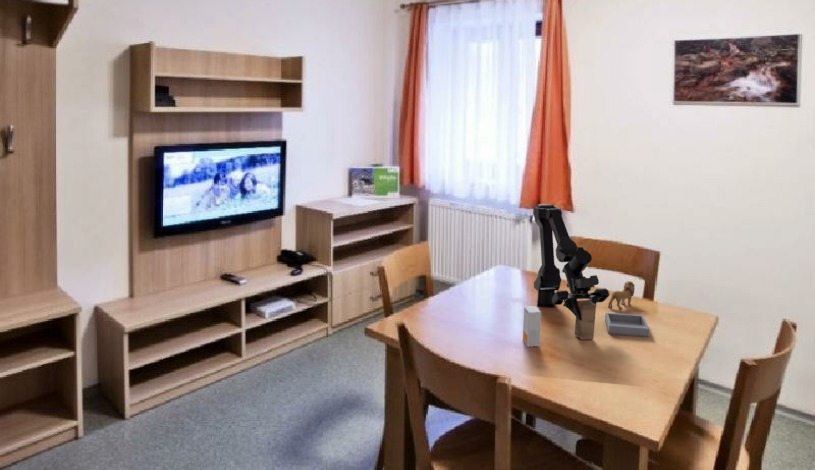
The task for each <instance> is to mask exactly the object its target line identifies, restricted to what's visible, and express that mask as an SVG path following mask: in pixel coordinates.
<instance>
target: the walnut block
mask: <svg viewBox="0 0 815 470" xmlns="http://www.w3.org/2000/svg"><path fill="white" fill-rule="evenodd" d="M577 305H578V308H579V311H580V314H581V320H579V319H578V318H577V317H576V316H575V324H574V325H575V326H574V335H575V336H576V337H577V338H578V339H580V340H593V339H594V336H595V335H594V333H595V322H596V312H597V311H596V310H597V304H596V305H595V304H594V303H593V302H591V301H590V300H588V299H580V300H577Z"/></svg>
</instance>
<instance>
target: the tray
mask: <svg viewBox="0 0 815 470" xmlns="http://www.w3.org/2000/svg"><path fill="white" fill-rule="evenodd" d="M604 315H605V316H604V323H605V326H606V330H607V333H608V335H619V336H632V337H645V338H650V337H649V333H650V327H649V325H648V322H647V321H646V319H645V317H644V315H643V314H641V315H640V314H629V313H613V312H605V313H604Z"/></svg>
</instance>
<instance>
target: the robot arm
mask: <svg viewBox="0 0 815 470" xmlns="http://www.w3.org/2000/svg"><path fill="white" fill-rule="evenodd" d="M532 213H533V217H534V222H535V223H536V225H537V226H538V227H539V228H538V229H539V240H540V241H539V243H540V256H541V257H540V259H541V265H540V267H539V269H538V271H537V278H536V279H535V280H534V282H533V289H535V290H536V291H537V300H536V307H545V308H555V305H556V306H559V305H562V306H563V307H565V308H567V309H568V310H569V311H570V312H571V313H572V314H573V315H574V316H575V318H576V317H577V318H578V319H579V320H581V314H580V311H579V308H578V305H577V301H578V300H590V301H591V302H593V303H594V304H595V305H596V306H597V303H604V302H605V301H606V300H607V298H609V296H610V292H609V290H608V289H607V288H604V287H603V288H596V289H595V290H594V291H593V292H590V291H591V290H592V288H595V286H598V285H599V282H600V281H599V277H598V276H597V275H590V276H589V277H586V276H584V275H583V272H584V271H585V270H586V268H587V267H588V265H590V263H591V262H592V260H593V257H592V255H591V253H590V252H589V251H587V250H585V248H584V247H583V246H578V245H577V244H576V241H574V240H573V239H571V237H570V234H569V232H568V229H567V226H566V223H565V221H564V218H563V216H562V215H563V212H562V209H561V208H560V207H557V206H555V205H554V203H553V204H552V203H550V204H547V203H546V204H544V203H542V204H536V205H535V207H533V209H532ZM554 238H555V241H556V245H557V246H556V248H555V249H554ZM554 251H555V252H554ZM555 257H556V259H557V261H558V262H560V263H565V264H564V265H563V268H562V270H561V269H560V268H558V267H557V266H556V264H555ZM561 271H562V273H564V275H565V277H566V281H567V283H566V288H568V290H569V291H568V290H560V288H561V283H562V277H561Z"/></svg>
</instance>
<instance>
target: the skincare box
mask: <svg viewBox="0 0 815 470" xmlns="http://www.w3.org/2000/svg"><path fill="white" fill-rule="evenodd" d="M523 307H524V308H523V324H522V325H523V326H522V341H523V342H524V344H525V345H526V347H529V348H530V346H531V347H533V346H537V347H540V342H541V325H542V323H541V321H542V311H541V310H540V308H539V307H538V306H537V305H533V306H532V305H529V306H528V305H524V306H523Z"/></svg>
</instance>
